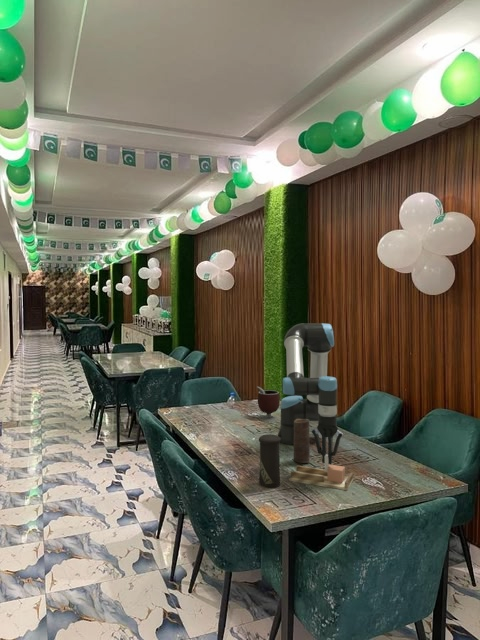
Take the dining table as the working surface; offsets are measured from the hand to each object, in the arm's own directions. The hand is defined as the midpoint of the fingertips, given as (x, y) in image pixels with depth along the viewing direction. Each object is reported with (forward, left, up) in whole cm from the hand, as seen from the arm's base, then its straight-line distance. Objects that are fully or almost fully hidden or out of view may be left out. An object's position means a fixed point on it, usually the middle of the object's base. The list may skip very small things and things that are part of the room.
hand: (327, 470), depth 191 cm
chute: (-2, 0, -4) cm, 5 cm away
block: (+4, 0, -3) cm, 5 cm away
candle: (-16, +17, -5) cm, 24 cm away
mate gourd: (-59, +83, -5) cm, 102 cm away
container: (-20, -13, -5) cm, 25 cm away
